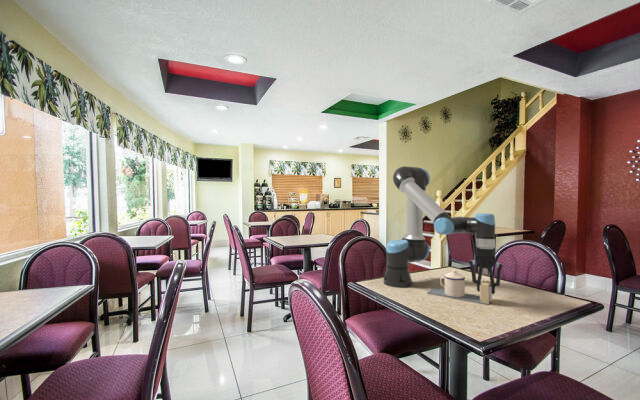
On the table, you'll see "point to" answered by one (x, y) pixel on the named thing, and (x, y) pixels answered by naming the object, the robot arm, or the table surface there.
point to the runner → (468, 297)
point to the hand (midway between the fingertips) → (485, 299)
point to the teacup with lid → (454, 284)
